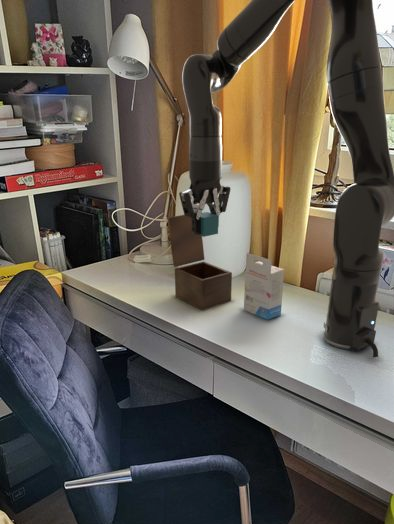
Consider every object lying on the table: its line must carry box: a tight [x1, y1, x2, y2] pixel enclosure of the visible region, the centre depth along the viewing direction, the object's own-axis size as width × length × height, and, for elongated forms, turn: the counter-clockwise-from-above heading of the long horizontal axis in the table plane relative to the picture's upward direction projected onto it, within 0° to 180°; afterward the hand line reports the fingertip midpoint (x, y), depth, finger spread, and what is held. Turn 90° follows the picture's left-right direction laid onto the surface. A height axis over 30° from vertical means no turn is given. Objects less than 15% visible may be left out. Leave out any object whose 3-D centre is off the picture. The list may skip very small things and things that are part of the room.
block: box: [192, 211, 219, 238], centre depth 116 cm, size 4×4×4 cm
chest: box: [174, 260, 233, 311], centre depth 124 cm, size 12×10×8 cm
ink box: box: [243, 252, 285, 321], centre depth 114 cm, size 8×5×15 cm, turn 39°
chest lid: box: [167, 214, 205, 268], centre depth 124 cm, size 12×10×1 cm
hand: (205, 232), depth 116 cm, fingers closed on block, 4 cm apart
